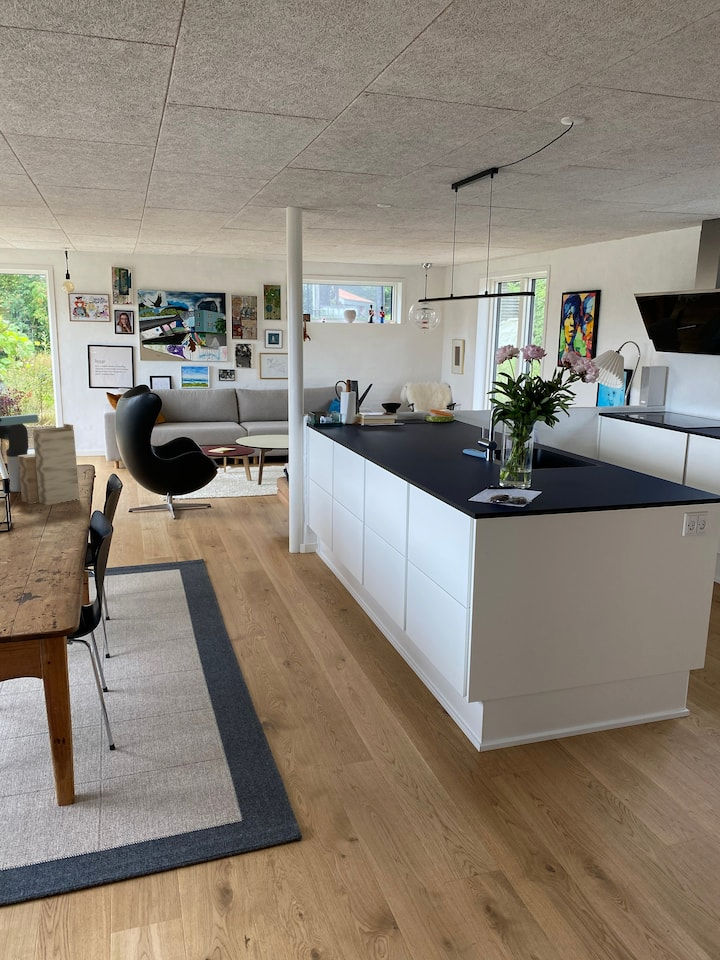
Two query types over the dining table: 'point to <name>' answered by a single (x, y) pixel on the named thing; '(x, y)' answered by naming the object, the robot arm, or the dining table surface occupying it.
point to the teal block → (19, 419)
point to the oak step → (28, 478)
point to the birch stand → (56, 464)
